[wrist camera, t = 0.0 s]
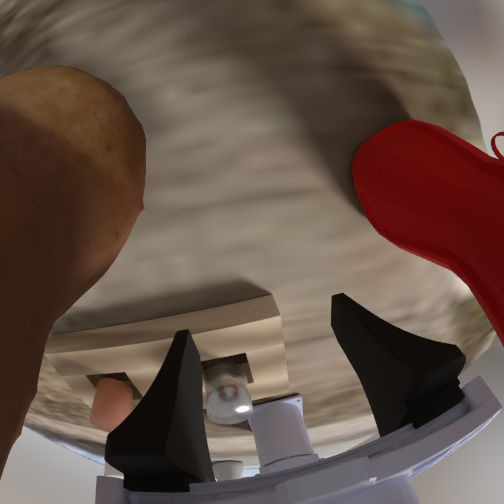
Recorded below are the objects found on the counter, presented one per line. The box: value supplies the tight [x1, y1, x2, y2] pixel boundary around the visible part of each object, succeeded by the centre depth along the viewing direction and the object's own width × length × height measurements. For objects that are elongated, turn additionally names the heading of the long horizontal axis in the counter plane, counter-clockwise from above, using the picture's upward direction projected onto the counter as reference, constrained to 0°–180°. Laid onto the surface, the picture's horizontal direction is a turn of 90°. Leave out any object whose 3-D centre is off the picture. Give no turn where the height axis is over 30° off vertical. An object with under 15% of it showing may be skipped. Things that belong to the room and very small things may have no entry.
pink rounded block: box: [90, 378, 133, 432], centre depth 22 cm, size 4×4×4 cm
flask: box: [212, 461, 244, 481], centre depth 41 cm, size 7×7×10 cm
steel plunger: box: [204, 362, 254, 424], centre depth 23 cm, size 4×4×4 cm
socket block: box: [44, 295, 289, 412], centre depth 26 cm, size 12×24×3 cm, turn 99°
